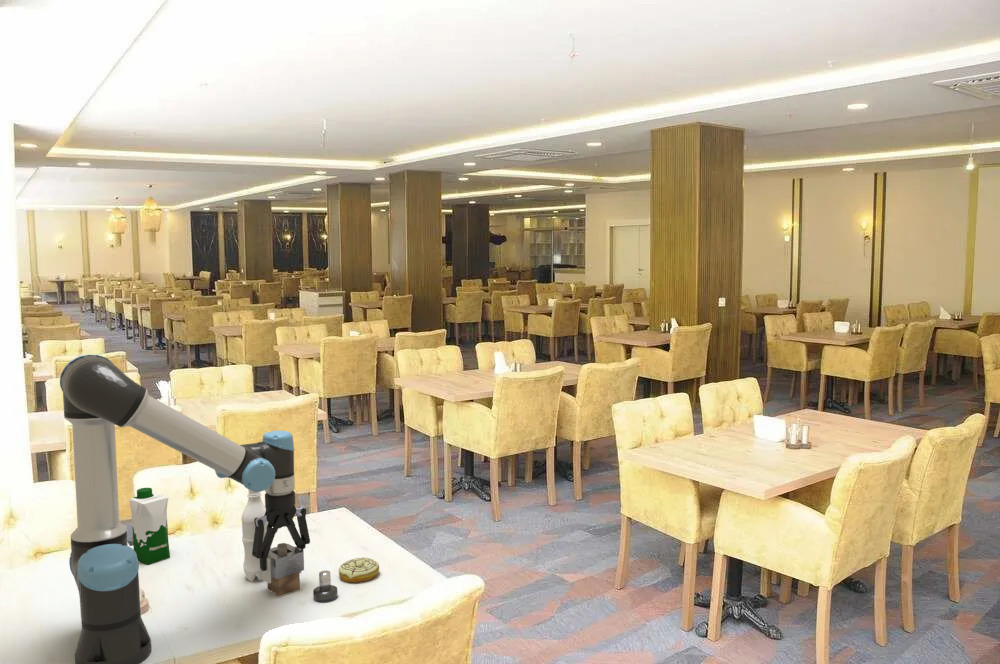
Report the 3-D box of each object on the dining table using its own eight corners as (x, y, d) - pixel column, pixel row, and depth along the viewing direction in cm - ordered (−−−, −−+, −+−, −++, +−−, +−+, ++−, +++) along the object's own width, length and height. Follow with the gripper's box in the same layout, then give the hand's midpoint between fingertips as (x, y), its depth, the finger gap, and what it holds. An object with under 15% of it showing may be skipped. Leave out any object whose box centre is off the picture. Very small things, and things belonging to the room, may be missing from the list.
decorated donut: (332, 575, 219) (331, 562, 219) (366, 565, 226) (366, 552, 226) (350, 587, 211) (349, 574, 211) (386, 577, 218) (385, 563, 218)
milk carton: (158, 550, 238) (154, 484, 236) (175, 557, 233) (171, 489, 231) (129, 559, 231) (125, 491, 229) (146, 567, 226) (142, 497, 224)
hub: (321, 604, 201) (320, 579, 200) (308, 597, 205) (308, 572, 205) (342, 597, 205) (341, 572, 205) (329, 590, 209) (328, 566, 209)
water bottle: (263, 583, 214) (259, 491, 211) (238, 581, 215) (234, 490, 213) (276, 572, 221) (272, 483, 218) (252, 571, 222) (248, 482, 220)
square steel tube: (276, 579, 204) (275, 559, 204) (260, 570, 210) (260, 551, 209) (304, 570, 210) (303, 551, 209) (288, 561, 215) (287, 543, 215)
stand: (279, 596, 206) (277, 550, 205) (267, 589, 210) (265, 544, 209) (300, 589, 210) (298, 544, 209) (288, 582, 215) (286, 538, 213)
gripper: (249, 503, 198) (252, 593, 200) (323, 486, 212) (325, 569, 214) (234, 497, 203) (238, 584, 205) (307, 480, 217) (310, 561, 220)
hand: (282, 576), depth 210 cm, fingers closed on square steel tube, 8 cm apart
